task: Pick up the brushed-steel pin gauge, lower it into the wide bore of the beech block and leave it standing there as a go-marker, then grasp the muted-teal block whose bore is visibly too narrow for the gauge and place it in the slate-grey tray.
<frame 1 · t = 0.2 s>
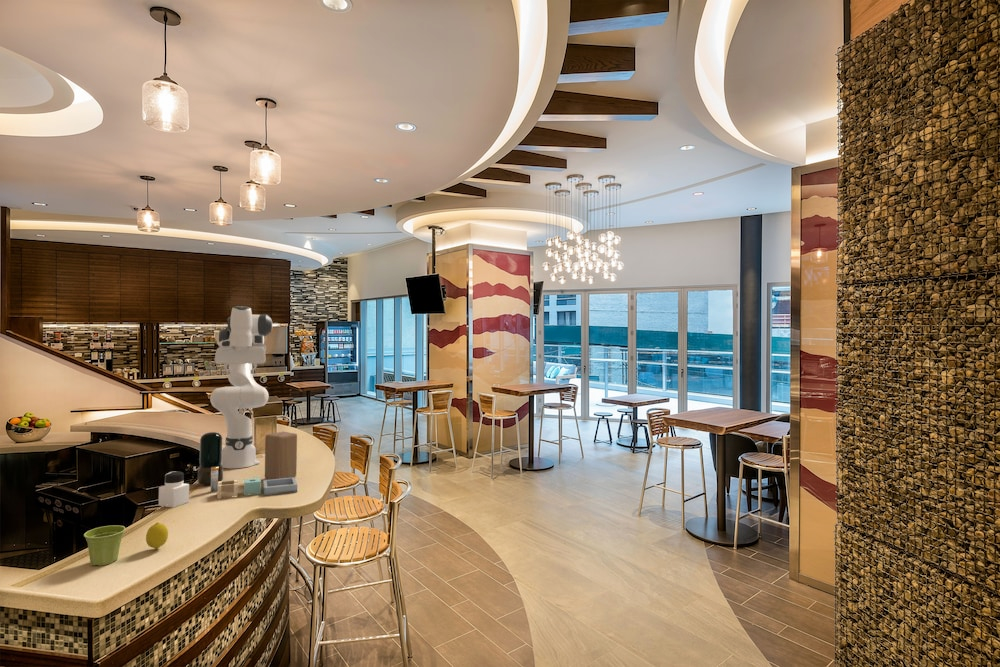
hand: (240, 374, 229), 47 cm above the table, fingers open, 8 cm apart
narrow bore block: (252, 492, 213), on the table
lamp: (210, 483, 225), on the table
medicine bottle: (173, 504, 197), on the table
block: (280, 478, 235), on the table
plant pot: (104, 562, 147), on the table
wide bore block: (227, 495, 209), on the table
lemon: (156, 549, 156), on the table
tray: (280, 489, 217), on the table
pin gauge: (214, 491, 214), on the table
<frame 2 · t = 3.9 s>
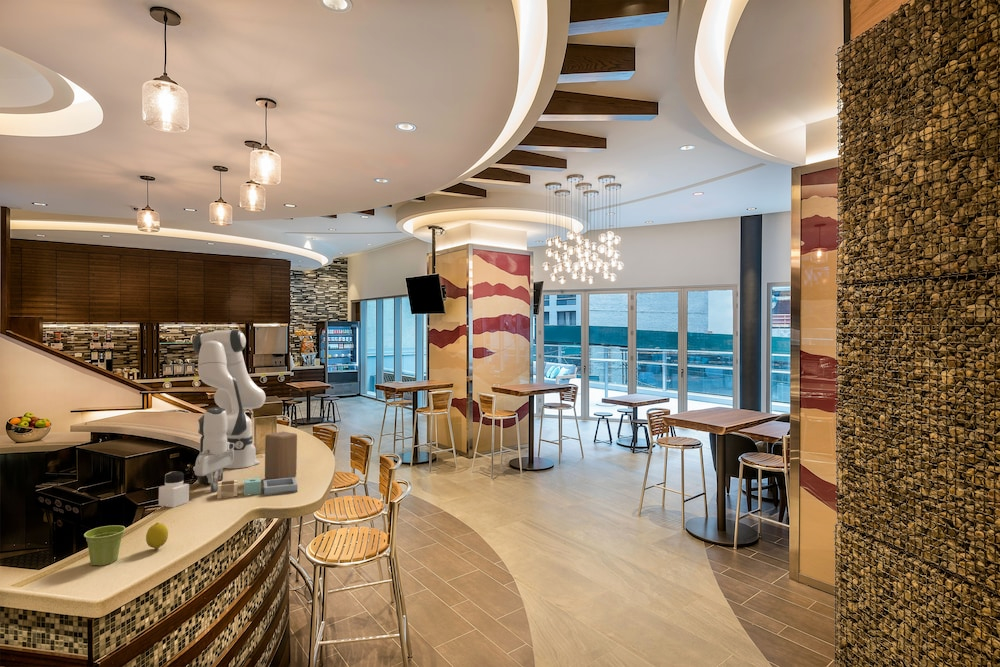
hand: (214, 481, 214), 4 cm above the table, fingers closed on pin gauge, 3 cm apart
pin gauge: (214, 491, 214), on the table, touching gripper
everything else where it was.
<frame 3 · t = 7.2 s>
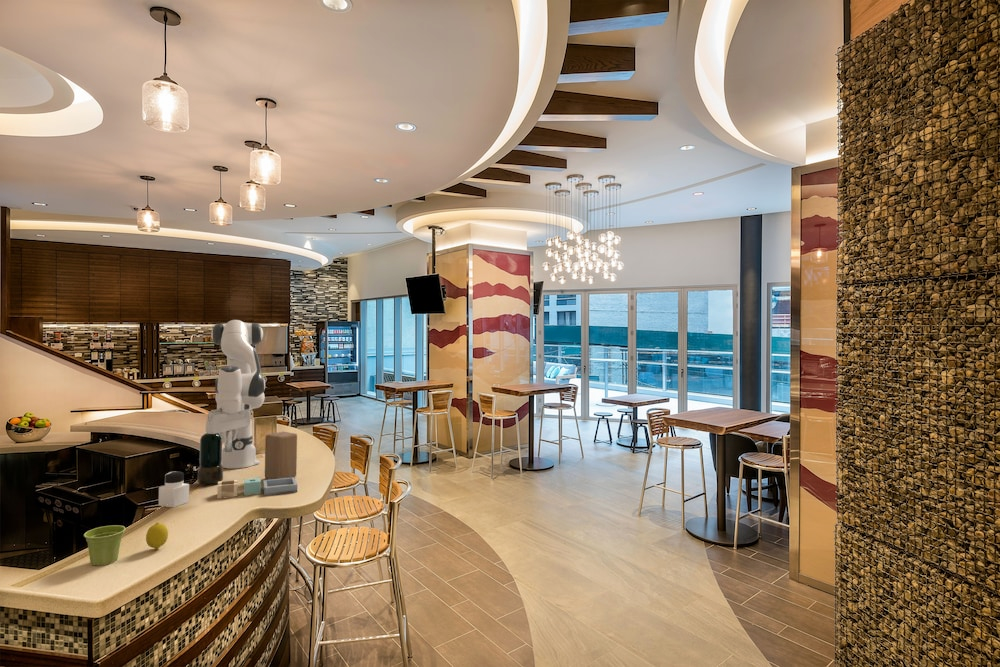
hand: (228, 441, 209), 22 cm above the table, fingers closed on pin gauge, 3 cm apart
pin gauge: (228, 451, 209), point 18 cm above the table, touching gripper
everything else where it was.
when the fingers open (6 cm above the table, at t = 10.7 s): pin gauge drops 2 cm, resting in wide bore block.
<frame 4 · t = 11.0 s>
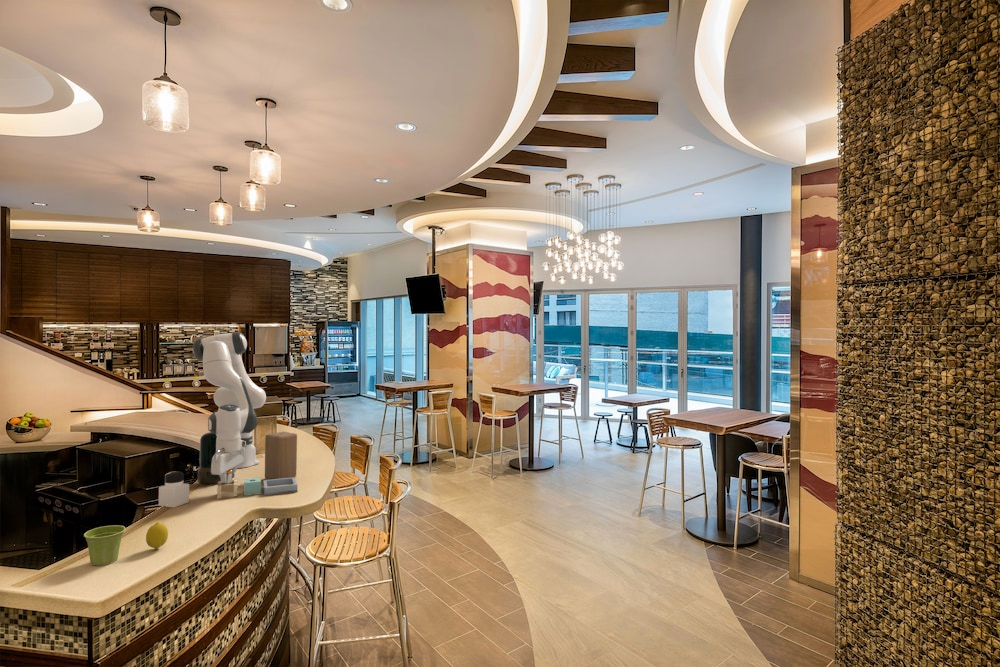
hand: (227, 480, 209), 6 cm above the table, fingers open, 5 cm apart
pin gauge: (227, 495, 209), resting in wide bore block
everything else where it was.
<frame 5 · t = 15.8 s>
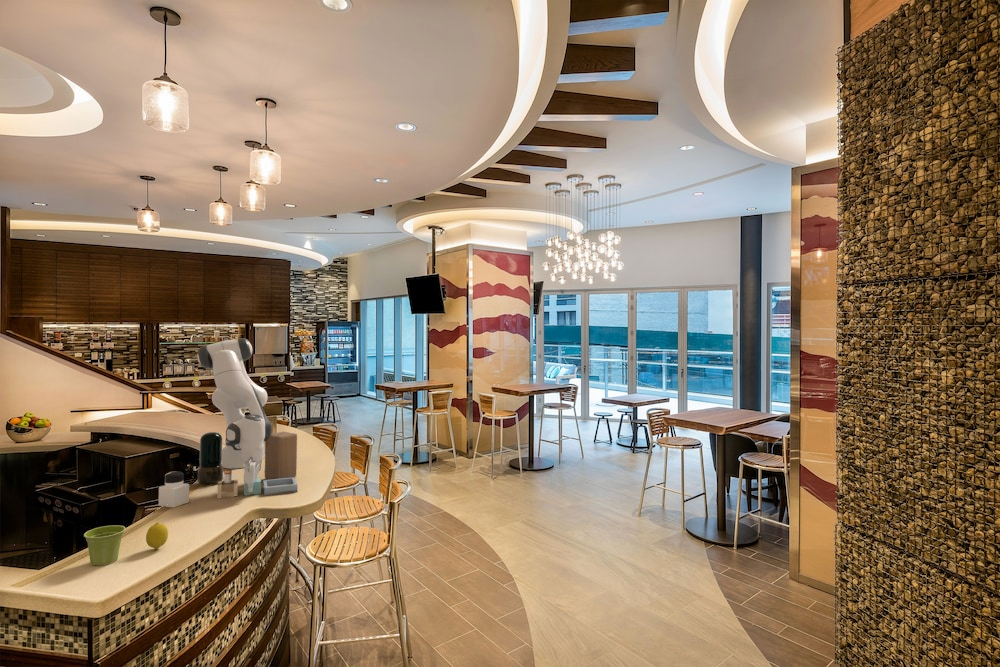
hand: (252, 488, 213), 2 cm above the table, fingers closed on narrow bore block, 6 cm apart
narrow bore block: (252, 492, 213), on the table, touching gripper
everything else where it was.
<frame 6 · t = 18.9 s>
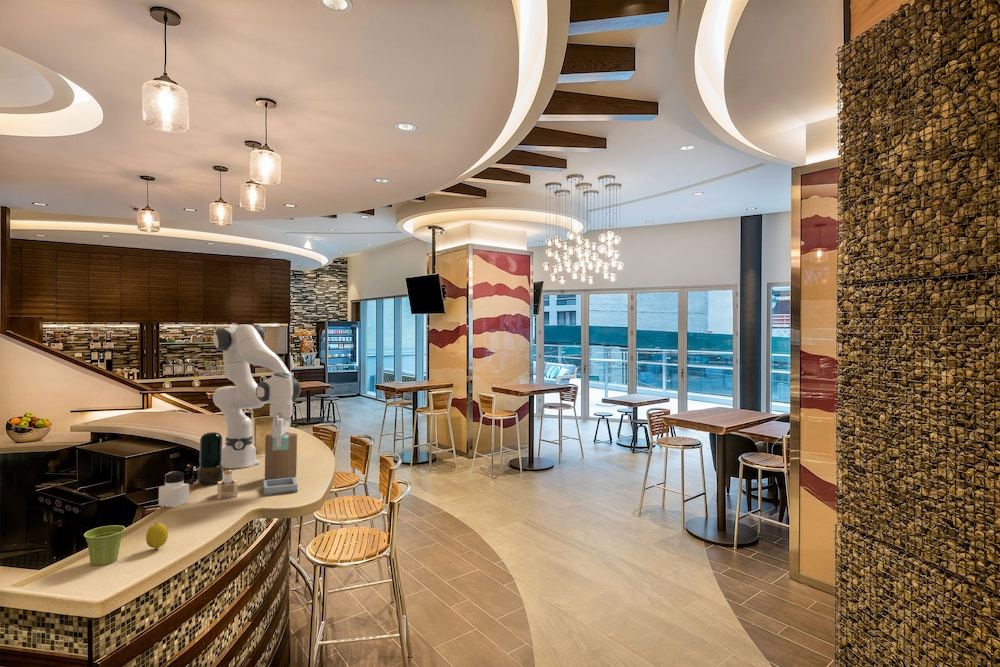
hand: (280, 444, 217), 19 cm above the table, fingers closed on narrow bore block, 6 cm apart
narrow bore block: (280, 448, 217), point 17 cm above the table, touching gripper
everything else where it was.
when the fingers open (4 cm above the table, at t = 21.9 s): narrow bore block drops 2 cm, resting on tray.
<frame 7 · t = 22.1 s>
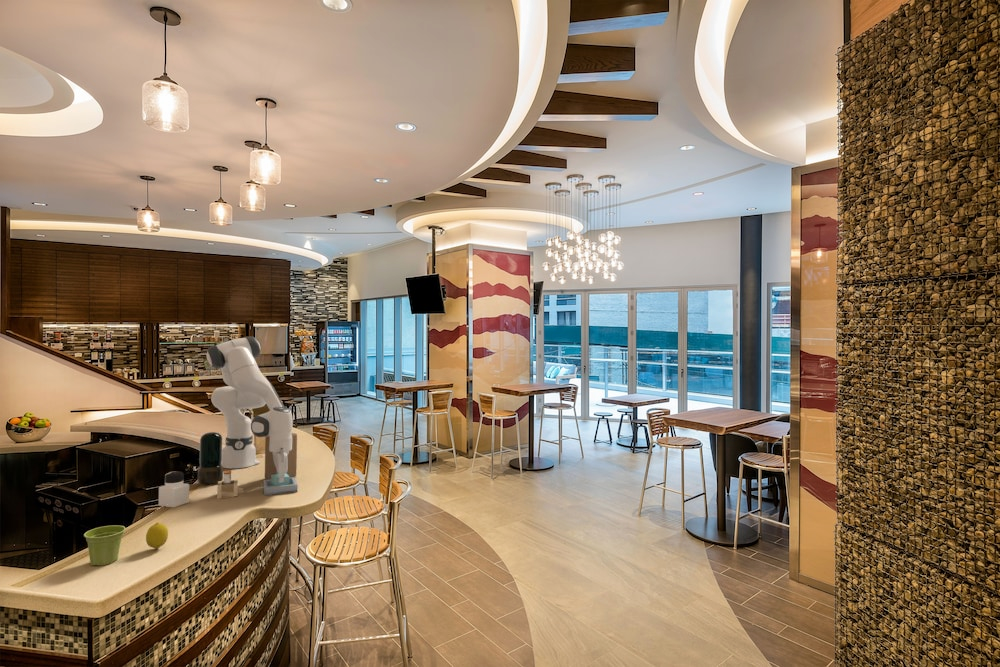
hand: (280, 479, 218), 4 cm above the table, fingers open, 8 cm apart
narrow bore block: (280, 487, 218), point 1 cm above the table, touching tray
everything else where it was.
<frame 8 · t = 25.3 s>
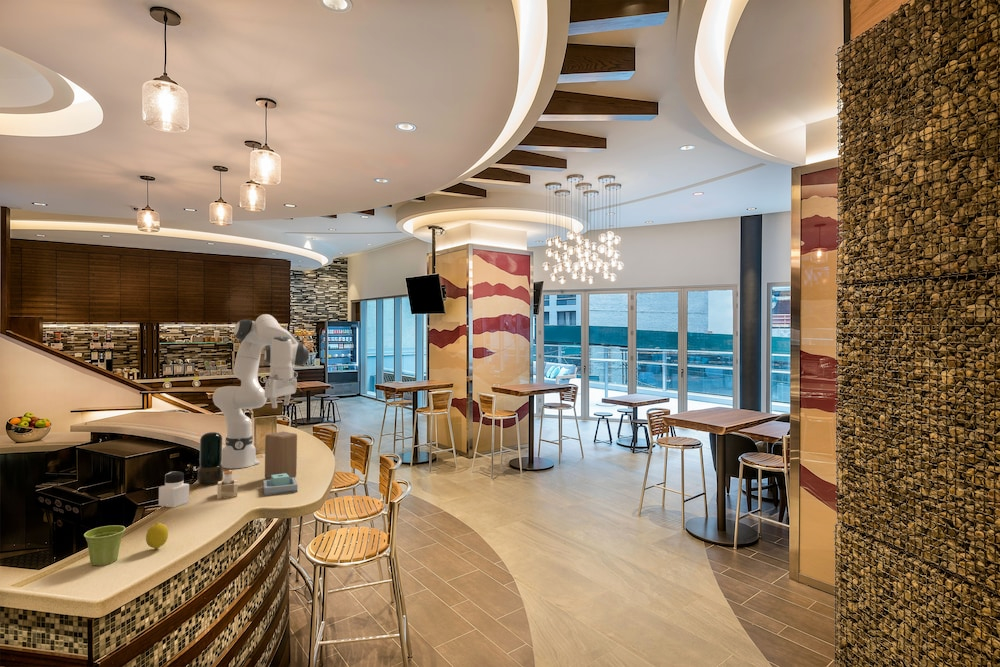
hand: (280, 406, 223), 34 cm above the table, fingers open, 8 cm apart
nothing on the table moved.
at the end: pin gauge 0.1 cm off-centre on the wide bore block, point 0.0 cm above the wide bore block's base; narrow bore block inside the target area on the tray (0.1 cm from its centre), point 0.8 cm above the tray's base; the gripper is holding nothing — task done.
